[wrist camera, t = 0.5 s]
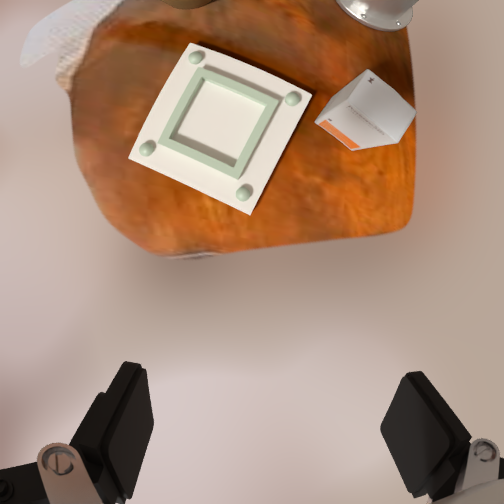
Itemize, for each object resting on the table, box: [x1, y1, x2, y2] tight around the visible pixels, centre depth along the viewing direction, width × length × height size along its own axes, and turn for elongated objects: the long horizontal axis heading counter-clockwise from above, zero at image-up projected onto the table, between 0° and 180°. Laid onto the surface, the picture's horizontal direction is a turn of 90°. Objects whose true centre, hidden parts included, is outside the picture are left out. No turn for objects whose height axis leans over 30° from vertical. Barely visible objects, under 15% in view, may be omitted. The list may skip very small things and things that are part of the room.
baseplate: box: [129, 43, 312, 215], centre depth 31 cm, size 16×16×3 cm
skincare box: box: [315, 69, 417, 151], centre depth 27 cm, size 6×4×12 cm
